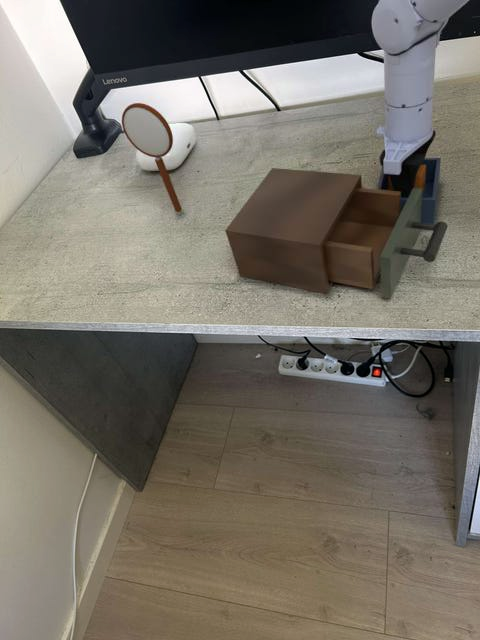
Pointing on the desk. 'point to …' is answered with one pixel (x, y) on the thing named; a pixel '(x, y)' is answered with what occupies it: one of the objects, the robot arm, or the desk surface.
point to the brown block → (419, 179)
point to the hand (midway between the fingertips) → (407, 189)
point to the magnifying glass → (151, 139)
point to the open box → (429, 193)
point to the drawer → (378, 239)
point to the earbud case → (180, 149)
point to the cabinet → (290, 227)
